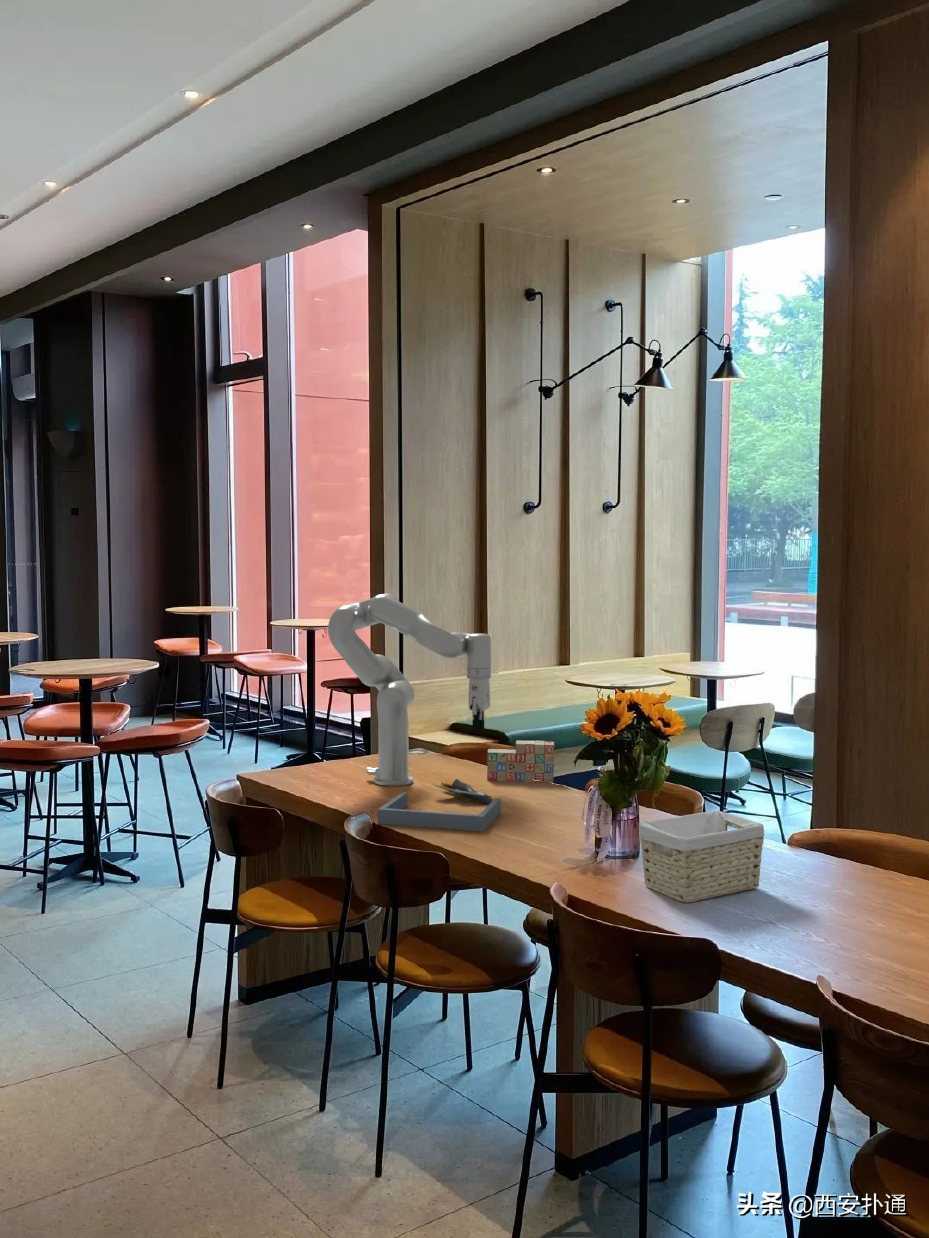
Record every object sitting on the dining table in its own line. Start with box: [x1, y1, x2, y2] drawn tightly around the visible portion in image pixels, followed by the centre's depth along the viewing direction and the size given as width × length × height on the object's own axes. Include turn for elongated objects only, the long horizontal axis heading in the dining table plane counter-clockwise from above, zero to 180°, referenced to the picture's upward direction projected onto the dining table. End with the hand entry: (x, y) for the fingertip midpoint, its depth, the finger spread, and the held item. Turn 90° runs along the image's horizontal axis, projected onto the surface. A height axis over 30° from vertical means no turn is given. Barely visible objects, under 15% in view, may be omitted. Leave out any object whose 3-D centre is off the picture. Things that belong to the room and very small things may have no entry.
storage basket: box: [638, 810, 765, 904], centre depth 242 cm, size 24×16×15 cm
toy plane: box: [431, 778, 492, 805], centre depth 327 cm, size 25×17×5 cm
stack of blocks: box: [486, 740, 555, 783], centre depth 353 cm, size 21×6×12 cm, turn 85°
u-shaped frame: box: [377, 791, 502, 832], centre depth 303 cm, size 29×21×4 cm
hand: (478, 731), depth 342 cm, fingers closed
